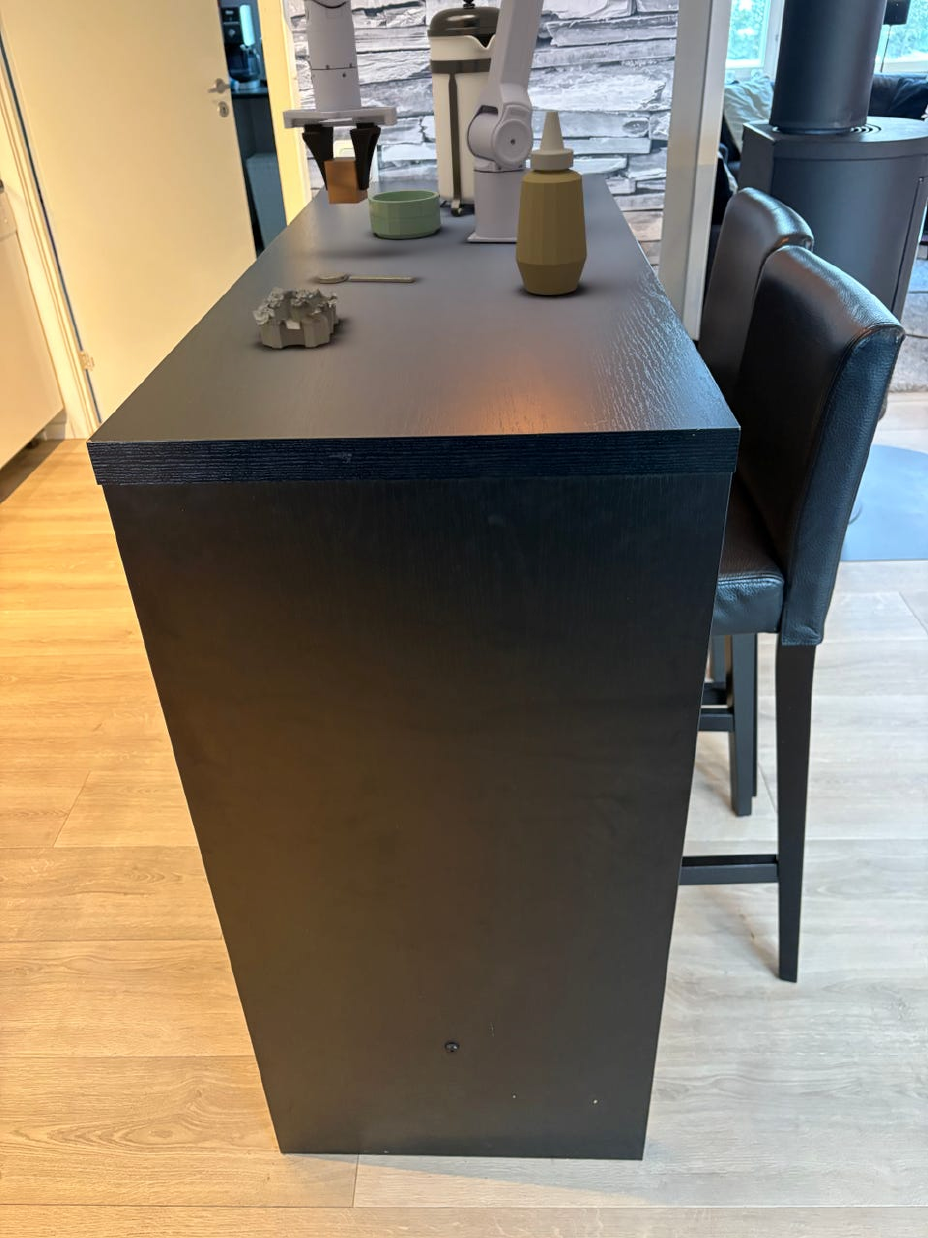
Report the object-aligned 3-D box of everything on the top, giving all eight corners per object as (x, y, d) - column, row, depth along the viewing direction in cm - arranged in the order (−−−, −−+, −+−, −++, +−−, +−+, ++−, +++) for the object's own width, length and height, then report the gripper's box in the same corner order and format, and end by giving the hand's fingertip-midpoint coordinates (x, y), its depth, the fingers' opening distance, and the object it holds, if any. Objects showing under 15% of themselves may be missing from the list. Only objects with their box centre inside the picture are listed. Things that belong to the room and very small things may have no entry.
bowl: (448, 225, 141) (446, 189, 138) (430, 239, 132) (427, 201, 130) (384, 225, 143) (381, 189, 140) (362, 239, 135) (358, 202, 132)
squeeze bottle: (593, 282, 108) (598, 106, 99) (577, 300, 102) (581, 115, 92) (526, 279, 111) (525, 108, 101) (507, 297, 105) (503, 116, 95)
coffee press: (541, 200, 154) (541, -19, 137) (491, 218, 143) (485, -18, 126) (454, 195, 162) (444, -13, 146) (400, 212, 151) (383, -11, 135)
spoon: (417, 277, 114) (416, 272, 114) (408, 284, 112) (408, 279, 111) (323, 275, 117) (323, 270, 117) (312, 282, 114) (312, 277, 114)
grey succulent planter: (327, 349, 92) (322, 306, 90) (252, 350, 92) (245, 308, 90) (346, 317, 101) (341, 278, 98) (278, 319, 101) (272, 280, 99)
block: (368, 197, 123) (364, 156, 120) (358, 203, 120) (353, 160, 117) (340, 198, 124) (335, 156, 121) (329, 203, 121) (323, 161, 118)
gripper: (266, 72, 112) (283, 194, 120) (379, 67, 109) (390, 194, 116) (289, 68, 118) (305, 185, 125) (398, 63, 114) (407, 184, 122)
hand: (347, 189), depth 121 cm, fingers closed on block, 4 cm apart
